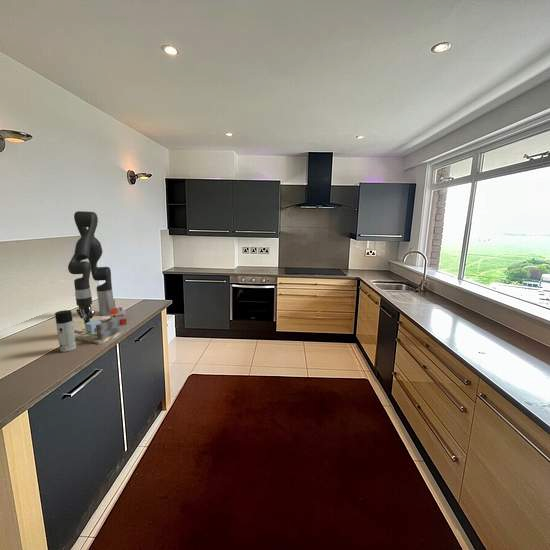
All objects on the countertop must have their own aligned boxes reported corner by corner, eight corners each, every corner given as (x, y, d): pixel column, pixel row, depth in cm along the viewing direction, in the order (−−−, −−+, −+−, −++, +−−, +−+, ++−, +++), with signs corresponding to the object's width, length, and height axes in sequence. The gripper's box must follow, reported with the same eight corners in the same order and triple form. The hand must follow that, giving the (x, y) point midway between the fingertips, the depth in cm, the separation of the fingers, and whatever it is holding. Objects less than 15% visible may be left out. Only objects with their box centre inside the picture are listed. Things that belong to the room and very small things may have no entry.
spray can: (62, 347, 149) (56, 310, 145) (77, 345, 152) (72, 309, 148) (58, 353, 143) (52, 314, 139) (75, 350, 146) (69, 312, 142)
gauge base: (93, 327, 177) (91, 312, 176) (124, 333, 168) (123, 317, 166) (66, 337, 163) (64, 321, 161) (99, 344, 153) (96, 327, 152)
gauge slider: (96, 329, 169) (94, 320, 168) (103, 331, 167) (102, 321, 166) (78, 336, 160) (77, 326, 159) (86, 338, 157) (85, 327, 156)
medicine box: (127, 324, 183) (125, 312, 181) (112, 327, 178) (110, 314, 177) (124, 317, 195) (122, 306, 194) (110, 320, 191) (109, 308, 189)
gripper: (98, 296, 164) (101, 324, 167) (82, 293, 169) (86, 322, 172) (85, 299, 157) (89, 329, 161) (69, 297, 162) (73, 326, 166)
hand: (87, 325), depth 166 cm, fingers closed
